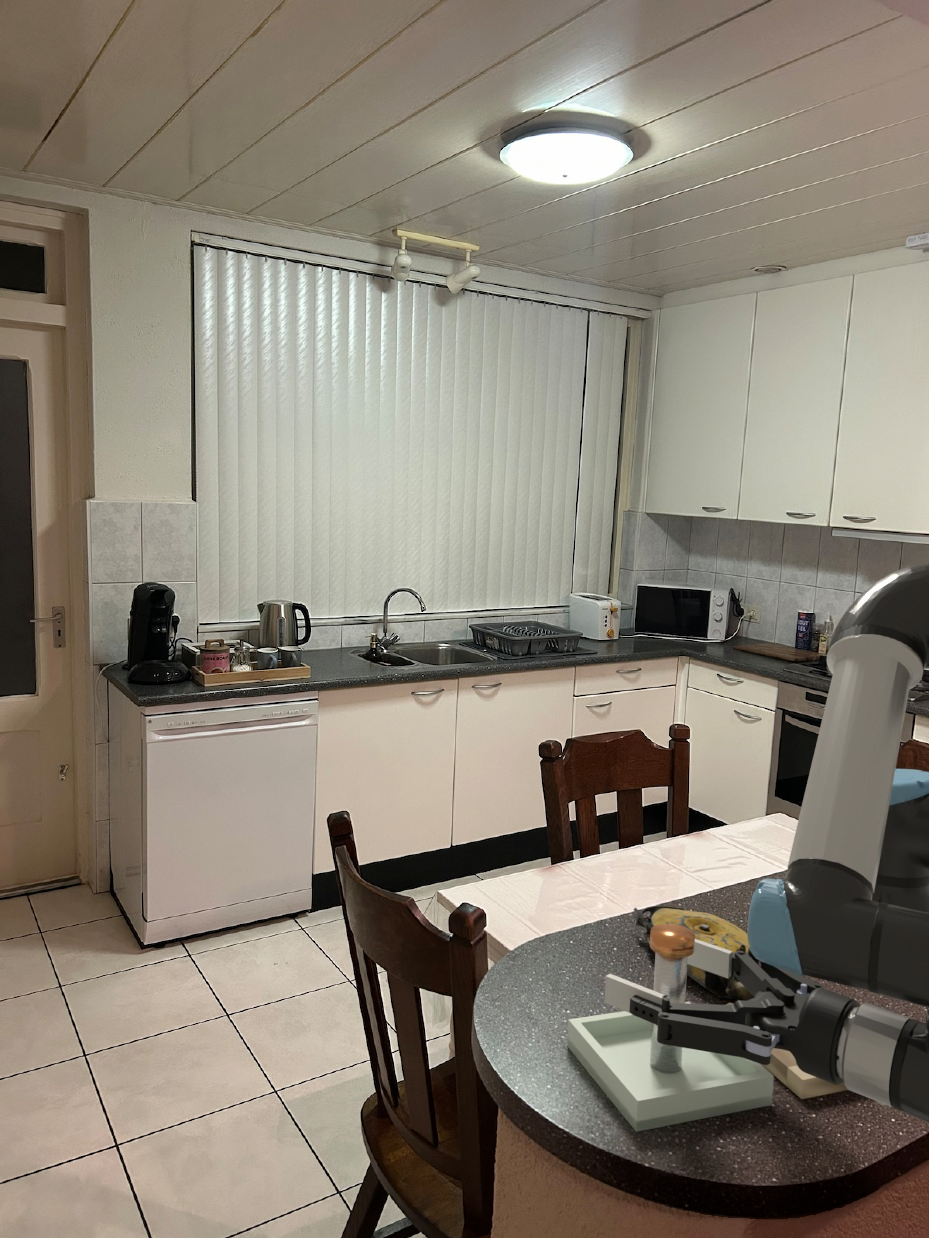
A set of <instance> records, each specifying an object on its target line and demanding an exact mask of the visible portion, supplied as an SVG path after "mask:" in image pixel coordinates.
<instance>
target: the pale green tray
mask: <svg viewBox="0 0 929 1238" xmlns="http://www.w3.org/2000/svg"><path fill="white" fill-rule="evenodd" d="M685 1003H690V1004H693V1003H691V1002H690V1001H685ZM567 1022H568V1023H567V1040H566V1041H567V1042H566V1047H568V1049H569V1050H570V1051H571V1053H572V1054H573V1056H574V1057H575V1058H576V1059H577V1060H578V1061H579V1063H580V1064H581V1065H582V1066H583V1068H584V1069H585V1070H586V1071H587V1073H588V1074H589V1075H590V1077H592V1079H593V1080H594V1082H595V1083H596V1084H597V1085H598V1087H600V1089H601V1090H602V1091H603V1092H604V1094H605V1095H606V1097H608V1099H609V1100H610V1102H612V1104H613V1105H614V1106H615V1107H616V1109H617V1110H618V1111H619V1113H620V1114H621V1115H622V1116H623V1118H624V1119H625V1120H626V1121H627V1123H628V1124H629V1125H630V1126H631V1128H632V1129H633V1131H635V1132H636V1133H637V1132H642V1131H648V1130H651V1129H657V1128H663V1127H667V1126H673V1125H677V1124H678V1125H679V1124H682V1123H688V1122H693V1121H698V1120H702V1119H708V1118H713V1117H718V1116H723V1115H728V1114H732V1113H733V1114H734V1113H739V1112H744V1111H748V1110H753V1109H759V1108H763V1107H768V1106H769V1107H770V1106H772V1105H773V1096H774V1095H773V1094H774V1079H775V1076H774V1075H773V1074H772V1073H771V1072H770V1071H769V1070H768V1069H767V1068H765V1067H764V1066H763V1065H762V1064H759V1063H757V1062H754V1061H751V1060H748V1059H745V1058H742V1057H736V1056H730V1055H724V1054H718V1053H712V1052H706V1051H701V1050H695V1049H689V1048H683V1049H682V1066H681V1070H680V1071H679V1072H677V1073H673V1074H667V1073H662V1072H659V1071H657V1070H655V1069H653V1068H652V1067H651V1065H650V1047H651V1028H652V1023H651V1022H648V1021H646V1020H644V1019H641V1018H639V1017H637V1016H634V1015H632V1014H631V1013H628V1012H626V1011H624V1010H621V1011H615V1012H610V1013H602V1014H595V1015H589V1016H584V1017H576V1018H570V1019H569V1018H568V1021H567Z"/></svg>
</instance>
